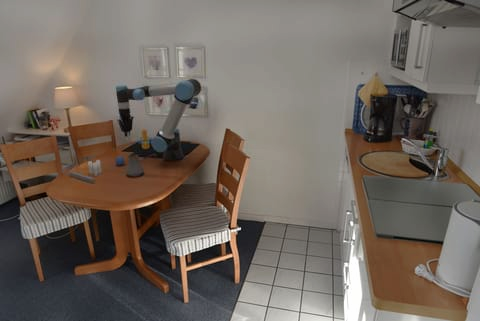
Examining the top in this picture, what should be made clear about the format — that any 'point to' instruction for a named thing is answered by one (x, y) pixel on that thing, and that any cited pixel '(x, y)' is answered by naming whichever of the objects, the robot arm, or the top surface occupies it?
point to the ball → (119, 160)
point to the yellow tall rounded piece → (144, 140)
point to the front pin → (98, 166)
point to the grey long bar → (82, 177)
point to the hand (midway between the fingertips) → (128, 140)
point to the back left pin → (95, 169)
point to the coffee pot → (135, 165)
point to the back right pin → (90, 167)
